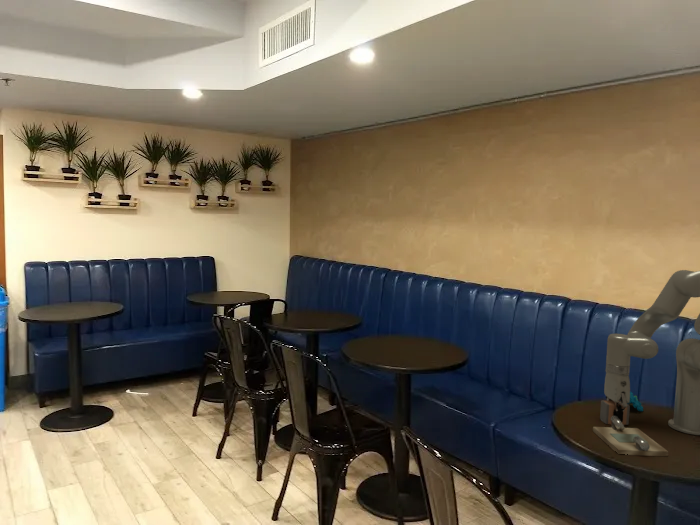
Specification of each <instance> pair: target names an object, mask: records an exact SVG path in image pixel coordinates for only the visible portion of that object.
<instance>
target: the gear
mask: <svg viewBox="0 0 700 525" xmlns="http://www.w3.org/2000/svg"><path fill="white" fill-rule="evenodd" d="M627 404H628V405H632V406H633V408H634V409H636V410H637V411H638V412H643V411H644V407H643V405H642V402H640V401H639V399H638V396H637V395H634V393H633V392H632V391H630V402H629V403H627Z"/></svg>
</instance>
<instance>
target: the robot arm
mask: <svg viewBox="0 0 700 525" xmlns="http://www.w3.org/2000/svg"><path fill="white" fill-rule="evenodd" d="M691 298H700V270H696V271H693V270H692V271H691V270H689V269H688V270H686V269H682V270H681V269H680V270H677V271H675V272H674V273H672V274H671V276H670V277H669V279H668V280H667V282H666V283H665V285H664V287H663V288H662V290H661V291H660V293H659V295H658V296H657V298H656V299H655V301H654V302H653V303H652V305H651V306H649V307H648V308H647V309H646V310H645V311H644V312H643V313H642V314H641V315H640V316H639V317H638V318H637V319H636V320H635V322H634V323H633V324H632V326H631V327H630V329H629V330H628V332H627V334H624V333H610V334H608V337H607V340H606V341H607V342H606V356H605V357H606V360H605V377H604V387H603V388H604V389H603V390H604V391H603V392H604V395H605V398H606V399H605V400H606V401H614V402H615V410H614V412H613V416H617V417H618V418H619V420H620V421H621V422H623V411H624V409H625V408H626V407H627V403H629V402H630V392H631V382H630V381H631V380H630V368H631V357H634V358H640V359H644V360H645V359H647V360H648V359H652V358H654V357H655V356H657V354H658V353H659V345H658V343H657V342H656V341H655V340H654V339H652V337H653V335H654V334H655V332H656V331H657V330H658V329H659V328H660V327H661V326H663V325H664V324H667V323H670V322H672V321H675V320H677V318H679V316H680V314H682V312H683V310H684V308H685V307H686V305H687V304H688V303H689V301H690V299H691ZM693 326H694V327H693V328H694V330H695V332H696V334H697V335H700V313H699V314H698V316H697V317H696V319H695V322H694V324H693ZM675 350H676V351H675V358H676V384H675V397H674V408H673V409H674V411H673V418H670V419H669V420H668V421H667V422H668V423H667V424H668V425H667V426H669V427H670V428H671V429H673V430H676V431H677V432H681V433H684V434H688V435H689V434H690V435H695V436H700V339H698V338H685V339H684V340H683V339H682V341H680V342H679V343H678V345H677V347H676V349H675ZM619 401H621V402H619ZM618 404H621V405H619V406H618Z"/></svg>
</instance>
